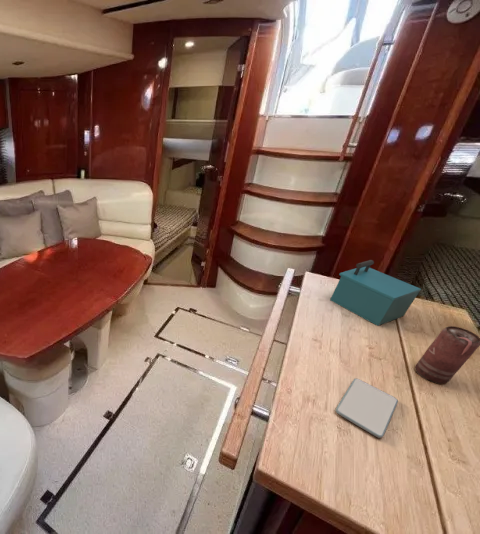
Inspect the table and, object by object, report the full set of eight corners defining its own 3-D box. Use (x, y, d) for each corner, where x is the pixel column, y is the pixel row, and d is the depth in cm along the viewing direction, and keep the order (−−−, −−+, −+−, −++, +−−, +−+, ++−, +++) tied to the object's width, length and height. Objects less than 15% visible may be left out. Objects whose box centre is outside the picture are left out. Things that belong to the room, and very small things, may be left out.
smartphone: (399, 399, 71) (382, 438, 63) (397, 401, 71) (380, 441, 63) (355, 376, 77) (334, 409, 69) (353, 379, 77) (333, 412, 69)
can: (425, 383, 76) (458, 341, 69) (408, 363, 81) (437, 323, 74) (455, 387, 74) (492, 345, 67) (435, 367, 80) (468, 326, 73)
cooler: (329, 300, 106) (341, 276, 101) (354, 292, 109) (366, 268, 104) (377, 326, 94) (393, 300, 89) (403, 316, 97) (419, 291, 92)
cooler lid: (338, 275, 101) (344, 262, 99) (363, 267, 105) (370, 255, 102) (393, 300, 89) (402, 286, 86) (419, 291, 92) (428, 277, 90)
